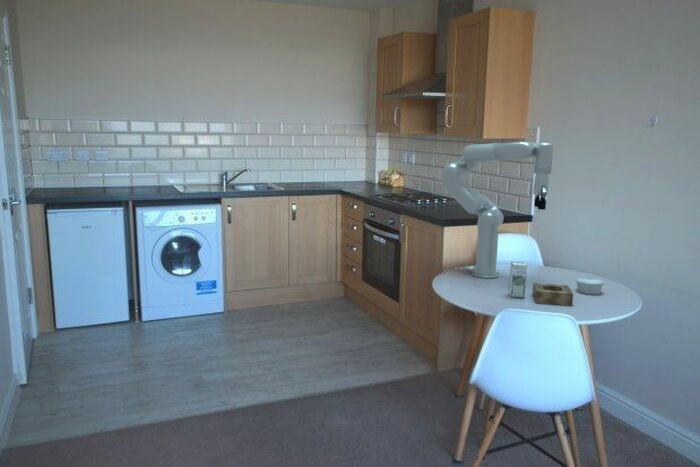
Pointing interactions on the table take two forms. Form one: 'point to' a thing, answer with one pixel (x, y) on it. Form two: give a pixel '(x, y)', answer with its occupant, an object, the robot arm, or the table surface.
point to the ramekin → (589, 286)
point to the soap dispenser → (517, 279)
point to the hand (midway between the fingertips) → (539, 208)
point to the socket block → (552, 294)
